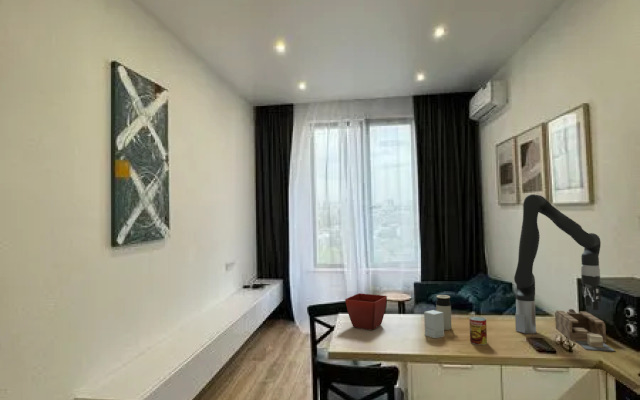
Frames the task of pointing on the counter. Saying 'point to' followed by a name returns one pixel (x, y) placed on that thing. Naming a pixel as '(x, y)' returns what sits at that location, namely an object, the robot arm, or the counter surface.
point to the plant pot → (366, 310)
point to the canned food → (478, 330)
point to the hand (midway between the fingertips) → (591, 307)
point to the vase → (571, 311)
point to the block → (595, 340)
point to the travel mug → (444, 309)
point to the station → (581, 328)
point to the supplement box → (434, 324)
